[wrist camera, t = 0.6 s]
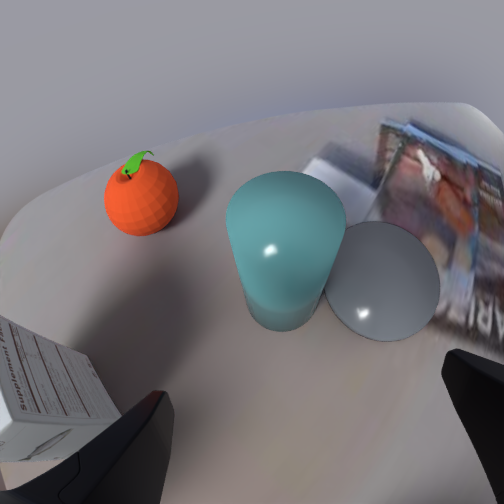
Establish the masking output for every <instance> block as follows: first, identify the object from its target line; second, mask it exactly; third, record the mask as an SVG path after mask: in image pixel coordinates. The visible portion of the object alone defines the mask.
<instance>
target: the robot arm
mask: <svg viewBox="0 0 504 504" xmlns="http://www.w3.org/2000/svg"><path fill="white" fill-rule="evenodd" d="M441 375H442V378H443V381H444V383H445V385H446V388H447V390H448V393H449V395H450V397H451V400H452V402H453V405H454V407H455V410H456V412H457V414H458V416H459V418H460V420H461V422H462V424H463V426H464V428H465V430H466V432H467V434H468V436H469V438H470V440H471V442H472V444H473V446H474V448H475V450H476V453H477V455H478V457H479V459H480V461H481V464H482V466H483V468H484V470H485V473H486V475H487V478H488V480H489V482H490V485H491V487H492V490H493V493H494V495H495V497H496V501H497V504H504V365H503V364H500V363H497V362H494V361H491V360H489V359H486V358H483V357H480V356H478V355H475V354H472V353H469V352H466V351H464V350H461V349H453V350H450V351H448V352H447V354H446V356H445V360H444V363H443V367H442V371H441ZM173 423H174V409H173V406H172V404H171V401H170V398H169V396H168V393H167V392H166V391H157V390H155V391H152V392H151V393H150V394H148V395H147V396H146V397H145V398H144V399H142V400H141V401H140V402H139V403H137V404H136V405H135V406H134V407H133V408H131V409H130V410H129V411H128V412H126V413H125V414H124V415H123V416H121V417H120V418H119V419H118V420H116V421H115V422H114V423H113V424H111V425H110V426H109V427H108V428H106V429H105V430H104V431H102V432H101V433H100V434H99V435H97V436H96V437H95V438H93V439H92V440H91V441H90V442H88V443H87V444H86V445H84V446H83V447H82V448H80V449H79V452H78V451H76V452H75V453H74V454H72V455H71V456H70V457H68V458H67V459H65V460H64V461H63V462H61V463H60V464H58V465H57V466H55V467H53V468H52V469H50V470H49V471H47V472H45V473H43V474H42V475H40V476H38V477H36V478H34V479H33V480H31V481H29V482H27V483H25V484H23V485H21V486H19V487H17V488H15V489H11V490H6V491H0V504H160V500H161V495H162V491H163V486H164V482H165V477H166V473H167V468H168V464H169V459H170V453H171V443H172V433H173Z"/></svg>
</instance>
